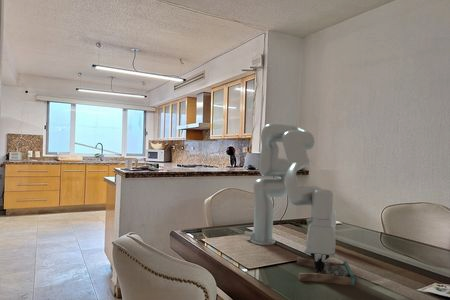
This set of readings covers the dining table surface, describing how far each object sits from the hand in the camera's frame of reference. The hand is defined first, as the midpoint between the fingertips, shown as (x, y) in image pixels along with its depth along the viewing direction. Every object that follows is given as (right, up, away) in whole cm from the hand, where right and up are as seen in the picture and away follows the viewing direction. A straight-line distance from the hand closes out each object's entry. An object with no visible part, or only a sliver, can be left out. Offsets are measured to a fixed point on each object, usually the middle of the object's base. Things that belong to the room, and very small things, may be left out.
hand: (318, 271), depth 114 cm
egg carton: (+6, -2, -2) cm, 6 cm away
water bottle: (+14, -2, +32) cm, 35 cm away
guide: (+2, -1, 0) cm, 2 cm away
